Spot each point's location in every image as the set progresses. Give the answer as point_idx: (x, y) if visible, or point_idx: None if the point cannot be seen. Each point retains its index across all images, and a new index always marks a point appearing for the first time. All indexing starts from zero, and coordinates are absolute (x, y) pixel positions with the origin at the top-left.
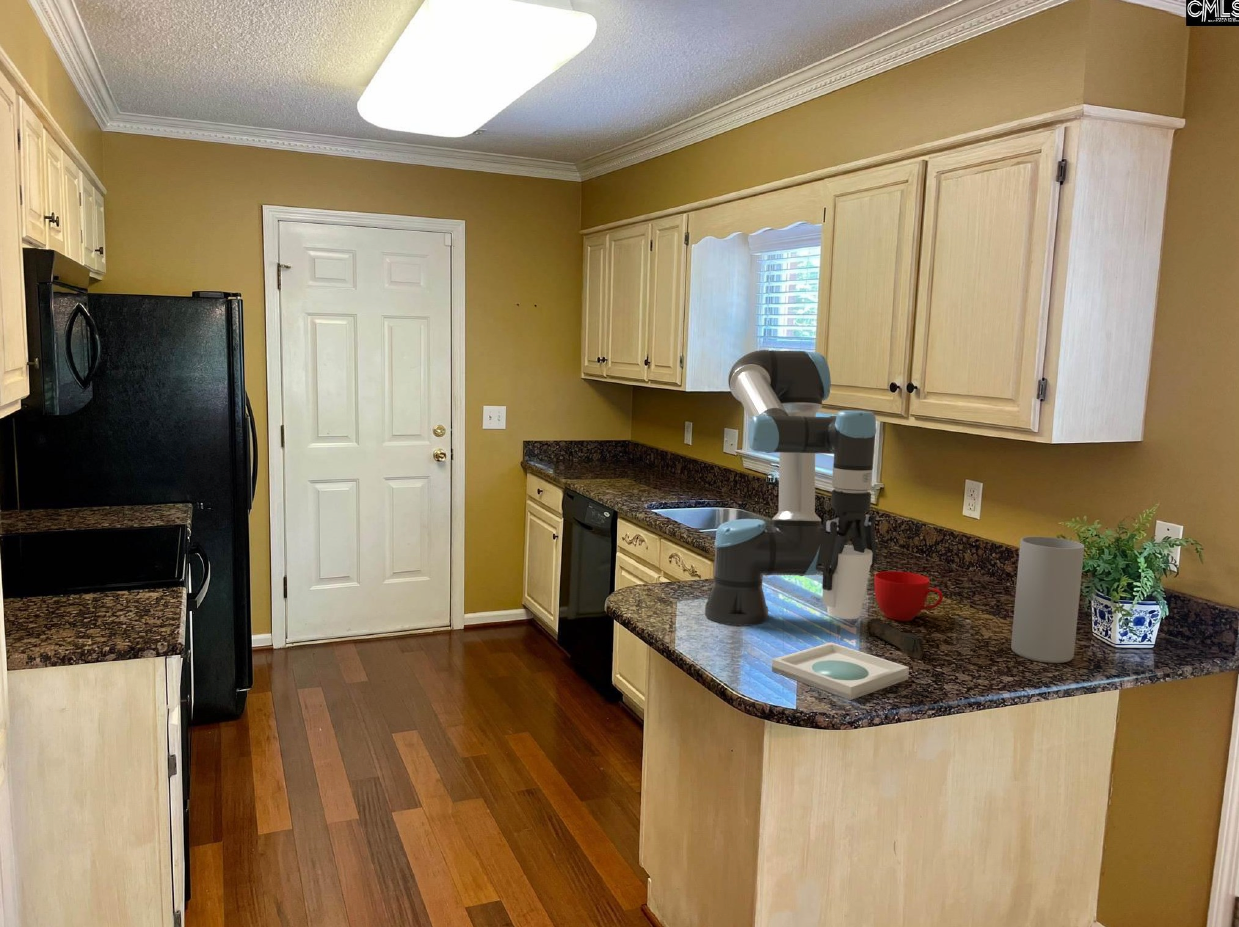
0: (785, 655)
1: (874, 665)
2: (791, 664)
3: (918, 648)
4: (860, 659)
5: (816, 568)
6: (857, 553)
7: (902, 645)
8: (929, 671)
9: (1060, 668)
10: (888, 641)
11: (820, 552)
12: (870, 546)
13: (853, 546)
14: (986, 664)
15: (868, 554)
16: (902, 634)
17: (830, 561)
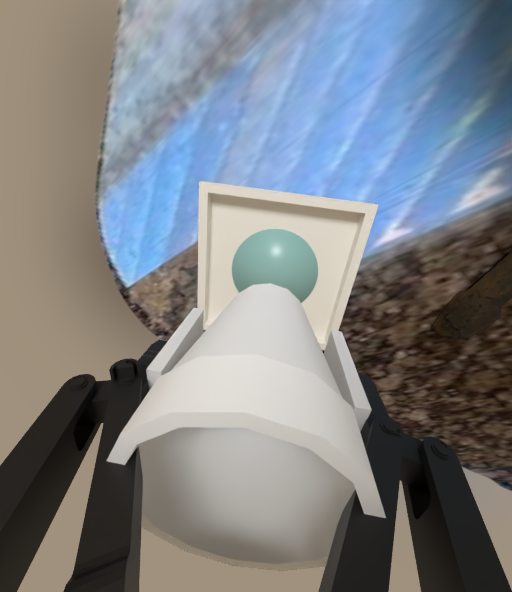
0: (234, 186)
1: (334, 299)
2: (204, 223)
3: (444, 331)
4: (343, 274)
5: (71, 382)
6: (347, 483)
7: (468, 297)
8: (383, 349)
9: (503, 447)
10: (503, 259)
11: (15, 458)
12: (421, 564)
13: (349, 516)
14: (468, 390)
15: (232, 565)
16: (486, 303)
17: (80, 454)
